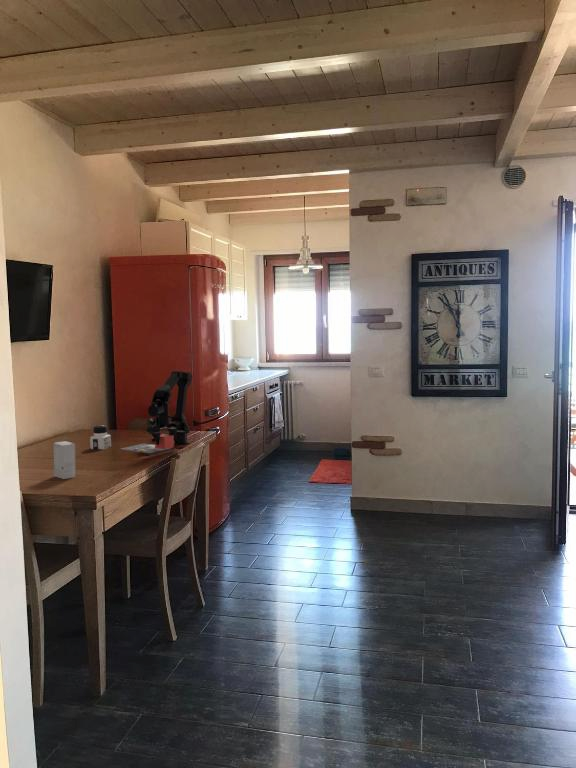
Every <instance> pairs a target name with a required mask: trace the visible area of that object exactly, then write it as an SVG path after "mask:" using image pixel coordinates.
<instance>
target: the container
mask: <svg viewBox="0 0 576 768" xmlns="http://www.w3.org/2000/svg"><path fill="white" fill-rule="evenodd" d="M107 431H108V429H107V426H106V425H103V424H100V425H99V424H98V425H95V426H93V435H92V436H90V437H89V442H90V443H89V444H90V449H91V450H106V449H108V448H110V447H112V438H111V434H108V432H107Z"/></svg>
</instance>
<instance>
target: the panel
mask: <svg viewBox="0 0 576 768" xmlns="http://www.w3.org/2000/svg"><path fill="white" fill-rule="evenodd" d="M120 450H123V451H125V450H126V451H131V452H138V453H143V454H145V455H144V456H145V457H151V456H155V455H161V454H164V453H169V452H173V451H174V448H173V447H171V448H167V449H162V448H155V444H149V443H139V444H135V445H130V446H127V447H126V446H125V447H121V448H120Z"/></svg>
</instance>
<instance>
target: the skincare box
mask: <svg viewBox="0 0 576 768" xmlns="http://www.w3.org/2000/svg"><path fill="white" fill-rule="evenodd" d="M53 477H55V478H59V479H62V480H66V479H67V480H68V479H71V478H75V477H76V444H75V443H73V442H70V441H65V440H63V441H56V442H53Z"/></svg>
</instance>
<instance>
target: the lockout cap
mask: <svg viewBox="0 0 576 768" xmlns="http://www.w3.org/2000/svg"><path fill="white" fill-rule="evenodd" d="M154 445H155V448H162V449H166V450H168V449H167V448H170V449H172V448H175V444H174V437H173V435H169V434H167V433H166V434H165V433H163V434H160V441H159V445H156V442H155V441H154ZM171 447H172V448H171Z"/></svg>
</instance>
